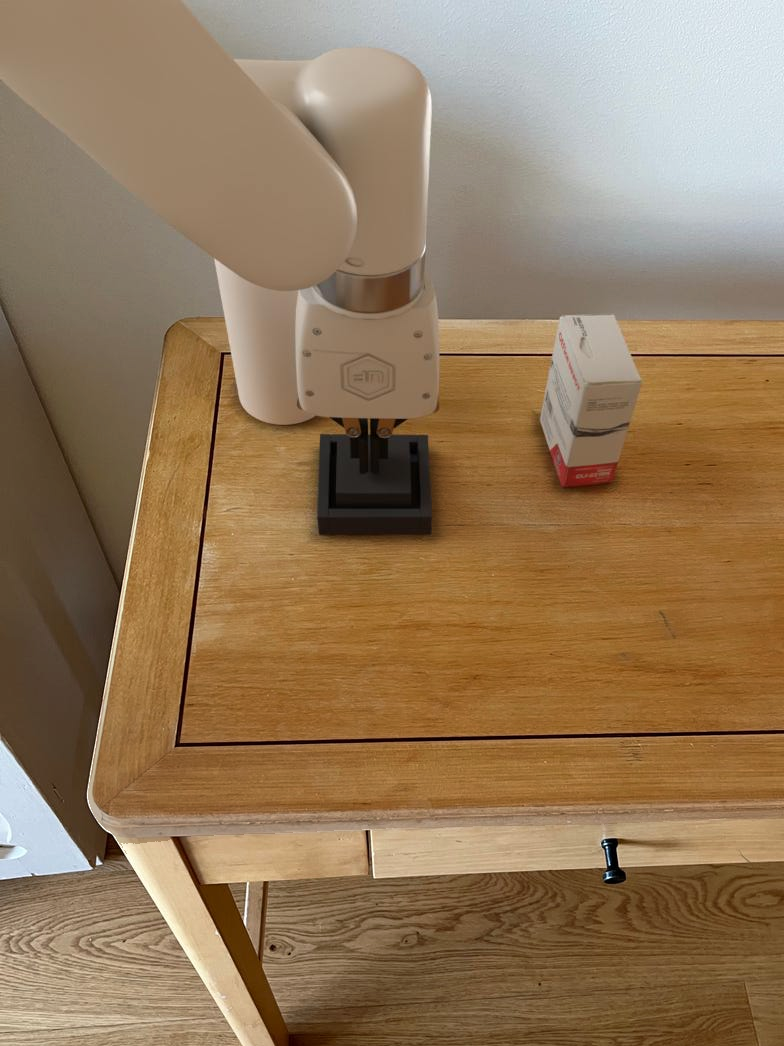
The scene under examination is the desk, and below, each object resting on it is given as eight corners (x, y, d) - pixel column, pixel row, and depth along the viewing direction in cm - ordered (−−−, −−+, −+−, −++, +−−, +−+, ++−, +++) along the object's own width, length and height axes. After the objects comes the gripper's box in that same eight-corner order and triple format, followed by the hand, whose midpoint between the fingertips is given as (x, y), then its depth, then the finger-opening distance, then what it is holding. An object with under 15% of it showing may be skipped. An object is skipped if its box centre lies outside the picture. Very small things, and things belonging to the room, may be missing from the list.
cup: (224, 413, 85) (193, 255, 72) (258, 353, 90) (234, 194, 76) (313, 433, 85) (298, 278, 71) (342, 372, 89) (333, 216, 76)
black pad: (337, 514, 79) (336, 493, 77) (338, 460, 82) (337, 438, 80) (410, 514, 80) (411, 493, 77) (408, 460, 83) (409, 439, 81)
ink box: (614, 483, 84) (644, 380, 74) (560, 489, 83) (583, 385, 74) (589, 414, 89) (614, 308, 79) (538, 419, 88) (556, 312, 78)
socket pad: (318, 535, 79) (317, 517, 77) (321, 452, 84) (319, 433, 82) (431, 535, 80) (432, 516, 78) (427, 453, 85) (427, 434, 83)
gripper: (246, 298, 60) (273, 495, 75) (484, 305, 62) (463, 497, 77) (254, 225, 64) (278, 426, 79) (477, 234, 66) (458, 430, 81)
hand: (369, 461), depth 78 cm, fingers closed
